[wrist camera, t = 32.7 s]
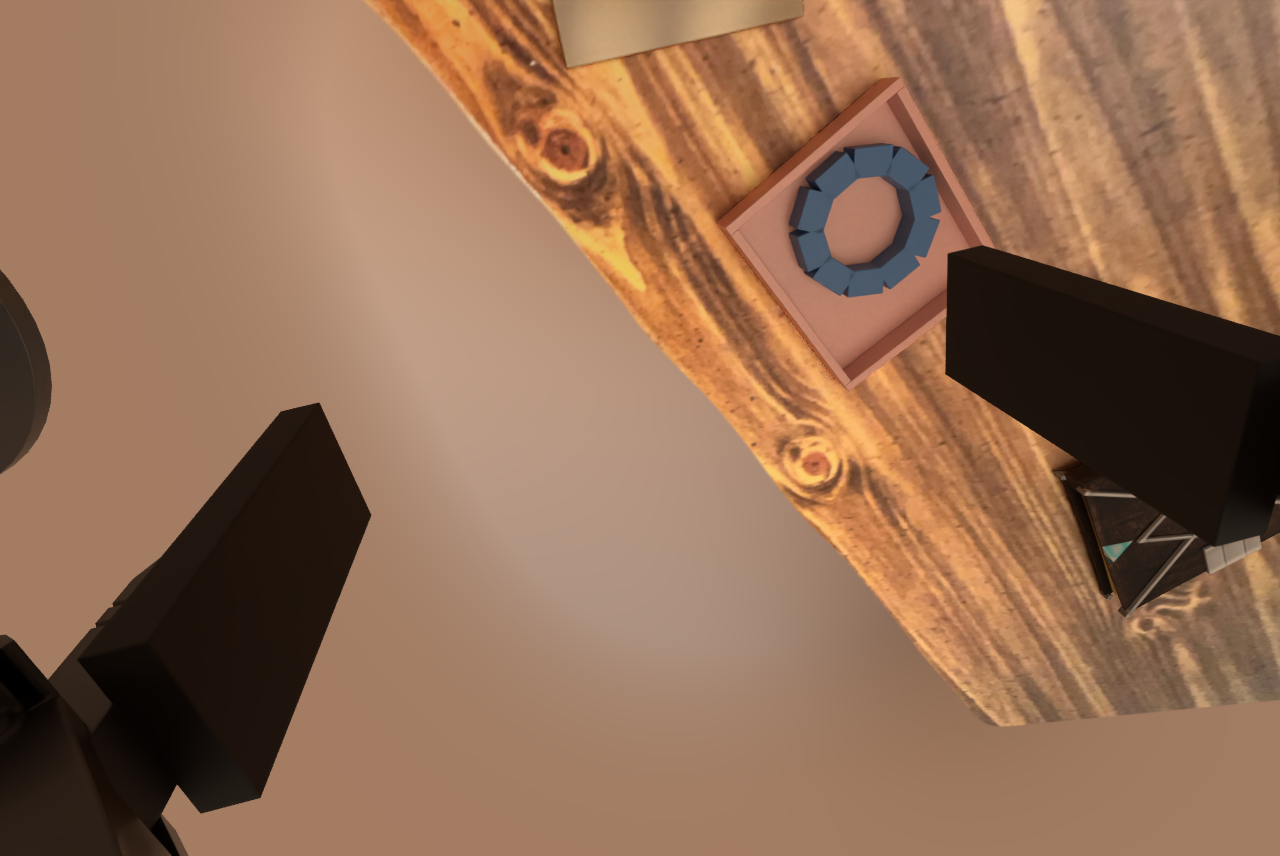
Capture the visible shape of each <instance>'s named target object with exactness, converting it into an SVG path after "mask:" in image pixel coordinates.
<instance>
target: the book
mask: <svg viewBox="0 0 1280 856" xmlns="http://www.w3.org/2000/svg"><path fill="white" fill-rule="evenodd" d="M1054 475H1055V476H1056V477H1058V478H1059V479H1061V480H1063V482H1064V484H1065V487H1066V489H1067V492H1068V494H1069V497H1070V500H1071V502H1072V505H1073V507H1074V510H1075V512H1076V515H1077V517H1078V520H1079V523H1080V526H1081V529H1082V532H1083V535H1084V538H1085V540H1086V543H1087V546H1088V549H1089V552H1090V555H1091V558H1092V561H1093V563H1094V566H1095V570H1096V573H1097V576H1098V579H1099V582H1100V585H1101V589H1102V591H1101V592H1100V594H1102V595H1103V596H1104V597H1105V598H1106V599H1108V600H1110V599H1111V598H1112V596H1113V595H1111V594H1110V593H1112V592H1114V593H1115V594H1116V595H1118V597H1119V600H1120V602H1121V605H1122V607H1120V608H1119V610H1118V612H1120V613H1121V614H1122V615H1123V616H1124V617H1126V618H1128V617H1129V616H1130V615H1131V614H1132V613H1133V611H1134V610H1135V609H1137V608H1138V607H1140V606H1142V605H1144V604H1146V603H1148V602H1149V601H1151V600H1153V599H1155V598H1157V597H1159V596H1160V595H1162V594H1164V593H1166V592H1168V591H1170V590H1171V589H1173V588H1175V587H1177V586H1179V585H1181V584H1182V583H1184V582H1186V581H1188V580H1190V579H1192V578H1194V577H1196V576H1198V575H1200V574H1201V573H1203V572H1205V571H1206V572H1207V573H1209V574H1212V573H1214V572H1216V571H1218V570H1220V569H1222V568H1224V567H1226V566H1228V565H1230V564H1232V563H1234V562H1236V561H1238V560H1240V559H1242V558H1244V557H1246V556H1248V555H1250V554H1252V553H1254V552H1255V551H1257V550H1259V549H1261V542H1263V541H1265V540H1266V539H1268V538H1270V537H1272V536H1274V535H1276V534H1278V533H1280V496H1279V495H1277V498H1276V501H1275V505H1274V508H1273V512H1272V515H1271V518H1270V522H1269V525H1268V529H1267V532H1266V534H1264V535H1260V536H1256V537H1252V538H1248V539H1245V540H1241V541H1237V542H1233V543H1229V544H1225V545H1222V546H1218V547H1213V546H1211V545H1209V544H1208V543H1206V542H1205V541H1203V540H1202V539H1200V538H1199V537H1197V536H1195V535H1194V534H1192V533H1191V532H1189V531H1188V530H1186V529H1185V528H1183V527H1182V526H1180V525H1178V524H1177V523H1175V522H1174V521H1172V520H1171V519H1169V518H1168V517H1166V516H1164V515H1163V514H1161V513H1160V512H1158V511H1157V510H1155V509H1154V508H1152V507H1151V506H1149V505H1147V504H1146V503H1144V502H1143V501H1141V500H1140V499H1138V498H1137V497H1135V496H1133V495H1132V494H1130V493H1129V492H1127V491H1126V490H1124V489H1123V488H1121V487H1120V486H1118V485H1116V484H1115V483H1113V482H1112V481H1110V480H1109V479H1107V478H1106V477H1104V476H1102V475H1101V474H1099V473H1098V472H1096V471H1095V470H1093V469H1092V468H1090V467H1089V466H1087V465H1085V464H1083V465H1081V466H1079V467H1077V468H1075V469H1073V470H1071V471H1055V473H1054Z"/></svg>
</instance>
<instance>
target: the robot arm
mask: <svg viewBox="0 0 1280 856" xmlns="http://www.w3.org/2000/svg"><path fill="white" fill-rule="evenodd" d="M945 374H946V375H948V376H949V377H951V378H952V379H954V380H955V381H957V382H958V383H960V384H961V385H963V386H965V387H966V388H968V389H969V390H971V391H972V392H974V393H975V394H977V395H979V396H980V397H982V398H983V399H985V400H986V401H988V402H989V403H991V404H992V405H994V406H996V407H997V408H999V409H1000V410H1002V411H1003V412H1005V413H1006V414H1008V415H1010V416H1011V417H1013V418H1014V419H1016V420H1017V421H1019V422H1020V423H1022V424H1023V425H1025V426H1027V427H1028V428H1030V429H1031V430H1033V431H1034V432H1036V433H1037V434H1039V435H1041V436H1042V437H1044V438H1045V439H1047V440H1048V441H1050V442H1051V443H1053V444H1054V445H1056V446H1058V447H1059V448H1061V449H1062V450H1064V451H1065V452H1067V453H1068V454H1070V455H1071V456H1073V457H1075V458H1076V459H1078V460H1079V461H1081V462H1082V463H1084V464H1085V465H1087V466H1089V467H1090V468H1092V469H1093V470H1095V471H1096V472H1098V473H1099V474H1101V475H1102V476H1104V477H1106V478H1107V479H1109V480H1110V481H1112V482H1113V483H1115V484H1116V485H1118V486H1120V487H1121V488H1123V489H1124V490H1126V491H1127V492H1129V493H1130V494H1132V495H1133V496H1135V497H1137V498H1138V499H1140V500H1141V501H1143V502H1144V503H1146V504H1147V505H1149V506H1151V507H1152V508H1154V509H1155V510H1157V511H1158V512H1160V513H1161V514H1163V515H1164V516H1166V517H1168V518H1169V519H1171V520H1172V521H1174V522H1175V523H1177V524H1178V525H1180V526H1182V527H1183V528H1185V529H1186V530H1188V531H1189V532H1191V533H1192V534H1194V535H1195V536H1197V537H1199V538H1200V539H1202V540H1203V541H1205V542H1206V543H1208V544H1209V545H1211V546H1213V547H1218V546H1222V545H1225V544H1229V543H1233V542H1237V541H1241V540H1245V539H1248V538H1252V537H1256V536H1260V535H1264V534H1266V532H1267V529H1268V525H1269V522H1270V518H1271V515H1272V512H1273V508H1274V505H1275V501H1276V498H1277V495H1279V496H1280V336H1278V335H1275V334H1271V333H1268V332H1265V331H1262V330H1258V329H1255V328H1252V327H1249V326H1245V325H1242V324H1239V323H1236V322H1232V321H1229V320H1226V319H1222V318H1219V317H1216V316H1213V315H1209V314H1206V313H1203V312H1200V311H1196V310H1193V309H1190V308H1187V307H1183V306H1180V305H1177V304H1173V303H1170V302H1167V301H1164V300H1160V299H1157V298H1154V297H1151V296H1147V295H1144V294H1141V293H1138V292H1134V291H1131V290H1128V289H1124V288H1121V287H1118V286H1115V285H1111V284H1108V283H1105V282H1102V281H1098V280H1095V279H1092V278H1088V277H1085V276H1082V275H1079V274H1075V273H1072V272H1069V271H1066V270H1062V269H1059V268H1056V267H1053V266H1049V265H1046V264H1043V263H1039V262H1036V261H1033V260H1030V259H1026V258H1023V257H1020V256H1017V255H1013V254H1010V253H1007V252H1004V251H1000V250H997V249H994V248H990V247H987V246H984V245H981V246H976V247H972V248H968V249H964V250H960V251H955V252H951V253H947V312H946V372H945ZM370 517H371V513H370V511H369V509H368V507H367V505H366V503H365V500H364V498H363V496H362V494H361V492H360V490H359V487H358V485H357V483H356V481H355V479H354V477H353V475H352V472H351V470H350V468H349V466H348V464H347V461H346V459H345V457H344V455H343V453H342V451H341V448H340V447H339V444H338V442H337V440H336V438H335V435H334V433H333V431H332V429H331V427H330V425H329V422H328V420H327V418H326V416H325V414H324V412H323V409H322V407H321V405H320V403H315V404H311V405H306V406H302V407H298V408H294V409H290V410H285V411H282V412H280V413H279V415H278V416H277V417H276V418H275V419H274V421H273V422H272V423H271V424H270V425H269V427H268V428H267V429H266V430H265V432H264V433H263V434H262V435H261V437H260V438H259V439H258V440H257V441H256V442H255V444H254V445H253V446H252V447H251V449H250V450H249V451H248V452H247V453H246V455H245V456H244V457H243V458H242V459H241V461H240V462H239V463H238V464H237V466H236V467H235V468H234V469H233V471H232V472H231V473H230V474H229V475H228V477H227V478H226V479H225V480H224V481H223V483H222V484H221V485H220V486H219V487H218V489H217V490H216V491H215V492H214V493H213V495H212V496H211V497H210V498H209V500H208V501H207V502H206V503H205V504H204V506H203V507H202V508H201V509H200V511H199V512H198V513H197V514H196V515H195V517H194V518H193V519H192V520H191V522H190V523H189V524H188V525H187V526H186V528H185V529H184V530H183V531H182V533H181V534H180V535H179V536H178V537H177V538H176V540H175V541H174V542H173V543H172V545H171V546H170V547H169V548H168V549H167V551H166V552H165V553H164V554H163V555H162V557H161V558H159V559H158V560H157V561H156V562H154V563H153V564H152V565H150V566H149V567H148V568H147V569H145V570H144V571H143V572H141V573H140V574H139V575H138V576H136V577H135V578H134V579H133V580H132V581H131V582H130V583H129V584H128V586H127V587H126V588H125V589H124V590H123V592H122V593H121V594H120V595H119V596H118V597H117V599H116V600H115V601H114V602H113V607H111V608H108V609H107V611H106V612H105V613H104V614H103V615H102V616H101V618H100V619H99V620H98V621H97V622H96V623H95V624H96V628H93V629H90V631H89V632H88V633H87V634H86V635H85V637H84V638H83V639H82V640H81V641H80V642H79V644H78V645H77V646H76V647H75V648H74V650H73V651H72V652H71V653H70V654H69V656H68V657H67V658H66V659H65V660H64V661H63V663H62V664H61V665H60V666H59V667H58V668H57V670H56V671H55V672H54V673H53V674H52V676H51V677H50V678H49V679H48V680H47V678H46V677H45V676H44V675H43V674H42V673H41V671H40V670H39V669H38V668H37V667H36V666H35V664H34V663H33V662H32V661H31V660H30V659H29V657H28V656H27V655H26V654H25V652H24V651H23V650H22V649H21V648H20V647H19V645H18V644H17V643H16V642H15V641H14V640H13V639H11V638H10V637H8V636H7V635H0V856H188V854H187V852H186V850H185V848H184V846H183V844H182V842H181V840H180V838H179V836H178V834H177V832H176V830H175V829H174V828H173V827H172V826H171V824H170V823H169V822H168V821H167V820H166V819H165V817H164V816H163V815H162V812H163V810H164V808H165V806H166V804H167V802H168V800H169V798H170V797H171V795H172V792H173V791H174V789H175V787H176V785H178V786H179V787H180V788H181V790H182V791H183V792H184V793H185V795H186V796H187V797H188V798H189V800H190V801H191V802H192V803H193V804H194V806H195V807H196V808H197V810H198V811H199V812H200V813H204V812H209V811H212V810H216V809H220V808H223V807H227V806H231V805H235V804H239V803H243V802H246V801H250V800H254V799H258V798H260V797H261V795H262V792H263V790H264V787H265V785H266V782H267V780H268V777H269V775H270V772H271V769H272V767H273V764H274V762H275V759H276V757H277V754H278V752H279V749H280V747H281V744H282V741H283V739H284V736H285V734H286V731H287V729H288V726H289V724H290V721H291V719H292V716H293V713H294V711H295V708H296V706H297V703H298V701H299V698H300V696H301V693H302V691H303V688H304V685H305V683H306V680H307V678H308V675H309V673H310V670H311V667H312V665H313V662H314V660H315V657H316V655H317V652H318V650H319V647H320V645H321V642H322V640H323V637H324V634H325V632H326V629H327V627H328V624H329V622H330V619H331V616H332V614H333V611H334V609H335V606H336V603H337V601H338V599H339V596H340V594H341V591H342V588H343V586H344V584H345V581H346V578H347V576H348V573H349V570H350V568H351V566H352V563H353V561H354V558H355V555H356V553H357V550H358V548H359V545H360V543H361V540H362V538H363V535H364V533H365V530H366V527H367V525H368V522H369V520H370Z"/></svg>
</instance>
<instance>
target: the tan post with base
mask: <svg viewBox="0 0 1280 856" xmlns="http://www.w3.org/2000/svg"><path fill="white" fill-rule="evenodd" d="M551 4H552V9H553V13H554V18H555V22H556V27H557V32H558V36H559V41H560V45H561V50H562V54H563V59H564V63H565V68H566V70H569V69H574V68H578V67H583V66H587V65H592V64H596V63H601V62H605V61H610V60H614V59H619V58H623V57H628V56H632V55H637V54H641V53H646V52H650V51H655V50H659V49H664V48H668V47H673V46H678V45H682V44H687V43H691V42H696V41H700V40H705V39H709V38H714V37H718V36H723V35H727V34H732V33H736V32H741V31H745V30H750V29H754V28H759V27H763V26H768V25H772V24H777V23H781V22H786V21H790V20H795V19H798V18H801V17H803V16H804V9H803V0H551Z"/></svg>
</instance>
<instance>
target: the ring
mask: <svg viewBox="0 0 1280 856" xmlns="http://www.w3.org/2000/svg"><path fill="white" fill-rule="evenodd" d="M928 170H929V167H928V166H927V165H925V164H924V163H923V162H921V161H920V160H919V159H917V158H916V157H915V156H914V155H912V154H911V153H910V152H908V151H907V150H906V149H904V148H903V147H900V146H893V144H886V143H876V144H867V145H857V146H848V147H844V151H843V152H839V151H835V152H834V153H833V154H832V155H830V156H829V157H828V158H827V159H826V160H825V161H824V162H823V163H822V164H820V165H819V166H818V167H817V168H816V169H815V170H814V171H813V172H811V173H810V174H809V175H808V176H807V177H806V178H805V179H806V181H807V182H808V184H809V185H810V187H811V188H812V189H811V188H807V187H802V186H800V188H799V191H798V194H797V198H796V201H795V204H794V208H793V211H792V214H791V218H790V221H789V225H790V226H792V227H794V228H796V230H794V231H792V232H790V233H789V237H790V240H791V243H792V246H793V249H794V253H795V256H796V259H797V262H798V265H799V267H800V268H802V269H804V270H805V271H804V274H806V275H807V276H809V277H810V278H812V279H814V280H815V281H817V282H818V283H820V284H821V285H823V286H825V287H826V288H828V289H829V290H831V291H833V292H834V293H836V294H837V295H839V296H841V295H842V294H843V295H845V296H846V297H848V298H850V297H857V296H865V295H873V294H881V293H883V286H884V287H886V288H888V289H892V288H893V287H895V286H896V285H897V284H898V283H899V282H901V281H902V280H903V279H904V278H905V277H907V276H908V275H909V274H910V273H911V272H913V271H914V270H915V269H916V268H918V267H919V266H920V263H919V262H918V260H917V259H916V257H915V256H919V257H924V258H925V257H926V256H927V254H928V251H929V248H930V246H931V243H932V241H933V238H934V236H935V233H936V231H937V228H938V225H939V223H940V220H938V219H935V218H931V216H933V215H936V214H938V213H940V212H941V206H940V202H939V197H938V192H937V187H936V182H935V177H934V175H932V174H927V171H928ZM878 176H880V177H881V178H882V179H884V180H885V181H886V182H888V183H889V184H891V185H892V186H893V187H895V188H896V191H897V195H898V199H899V204H900V208H901V212H902V218H901V220H900V223H899V226H898V229H897V231H896V234H895V237H894V239H893V242H892V244H891V245H890V246H888V247H887V248H886V249H885V250H884V251H883V252H881V253H880V254H879V255H878V256H877V257H875V258H874V259H873V260H872V261H871V262H869V263H861V264H853V265H843V264H842V263H840V262H839V261H837V260H836V259H834V258H833V257H831V253H830V250H829V246H828V243H827V240H826V236H825V233H824V228H825V225H826V222H827V219H828V216H829V213H830V210H831V207H832V204H833V200H834V199H835V198H837V197H838V196H839V195H840V194H841V193H842V192H843V191H844V190H846V189H847V188H848V187H849V186H850V185H851V184H852V183H854V182H855V181H856V180H857V179H860V178H869V177H878ZM914 255H915V256H914Z"/></svg>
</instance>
